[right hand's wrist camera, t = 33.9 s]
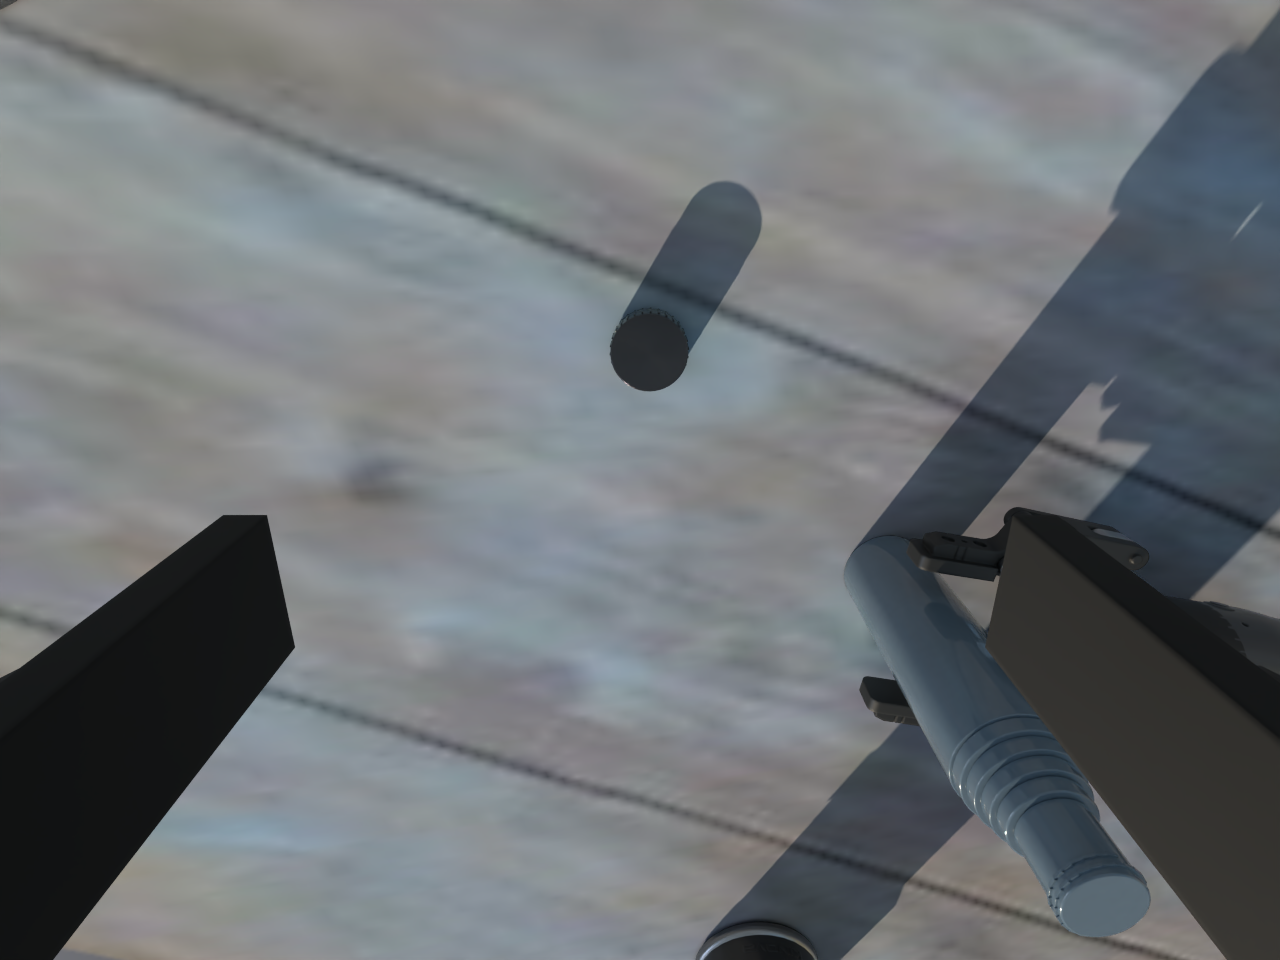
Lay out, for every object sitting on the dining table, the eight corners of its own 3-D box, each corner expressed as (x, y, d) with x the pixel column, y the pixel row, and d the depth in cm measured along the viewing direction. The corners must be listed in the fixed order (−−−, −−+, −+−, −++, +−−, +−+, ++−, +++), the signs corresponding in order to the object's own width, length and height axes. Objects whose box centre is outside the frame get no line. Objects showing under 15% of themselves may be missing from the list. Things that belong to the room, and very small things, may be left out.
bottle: (857, 528, 41) (1064, 837, 21) (936, 543, 42) (1215, 862, 21) (833, 599, 43) (1002, 949, 23) (909, 612, 43) (1143, 970, 23)
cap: (650, 398, 39) (650, 408, 37) (595, 347, 38) (592, 354, 36) (702, 345, 38) (705, 352, 36) (648, 290, 37) (648, 295, 35)
